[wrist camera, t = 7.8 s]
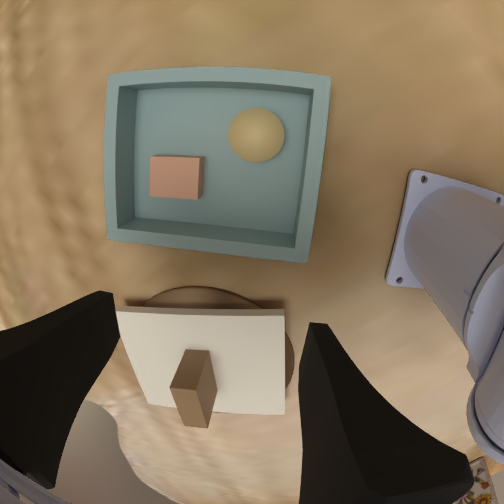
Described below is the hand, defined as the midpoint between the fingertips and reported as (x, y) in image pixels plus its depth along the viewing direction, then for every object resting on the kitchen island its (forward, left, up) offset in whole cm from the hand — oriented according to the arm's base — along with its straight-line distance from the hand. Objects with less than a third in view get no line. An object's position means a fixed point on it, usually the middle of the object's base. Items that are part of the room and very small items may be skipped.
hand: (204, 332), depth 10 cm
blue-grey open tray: (+2, -5, -10) cm, 11 cm away
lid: (+2, +10, -10) cm, 14 cm away
